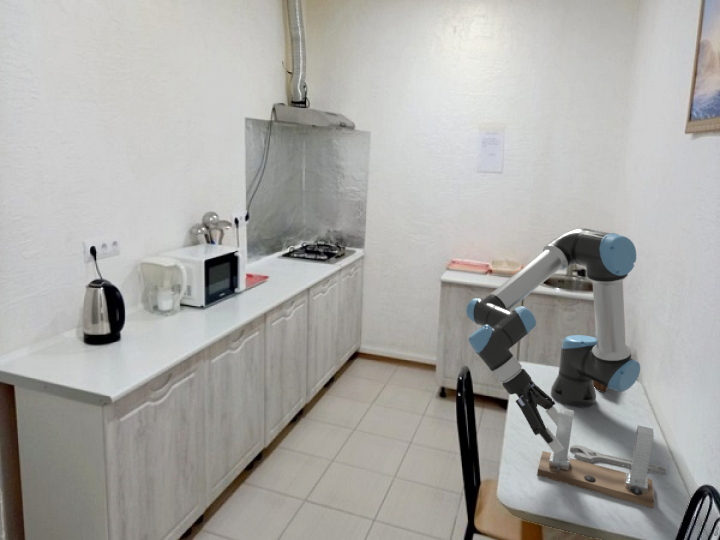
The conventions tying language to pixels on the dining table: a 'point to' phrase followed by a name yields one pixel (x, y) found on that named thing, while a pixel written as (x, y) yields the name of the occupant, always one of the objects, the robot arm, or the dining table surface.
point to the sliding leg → (562, 440)
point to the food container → (599, 386)
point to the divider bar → (595, 480)
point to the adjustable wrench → (609, 459)
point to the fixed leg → (640, 460)
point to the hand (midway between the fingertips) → (562, 438)
